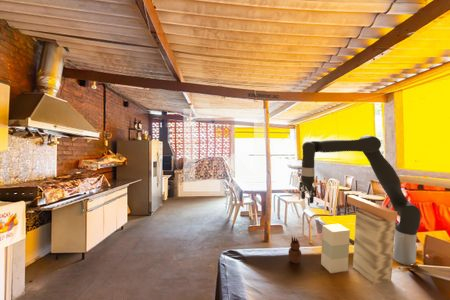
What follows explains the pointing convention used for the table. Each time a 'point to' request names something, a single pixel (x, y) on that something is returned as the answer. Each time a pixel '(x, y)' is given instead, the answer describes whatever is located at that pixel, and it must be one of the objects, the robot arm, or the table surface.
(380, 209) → the beam
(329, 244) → the tower
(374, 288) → the table surface
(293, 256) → the wooden figurine
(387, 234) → the stand
